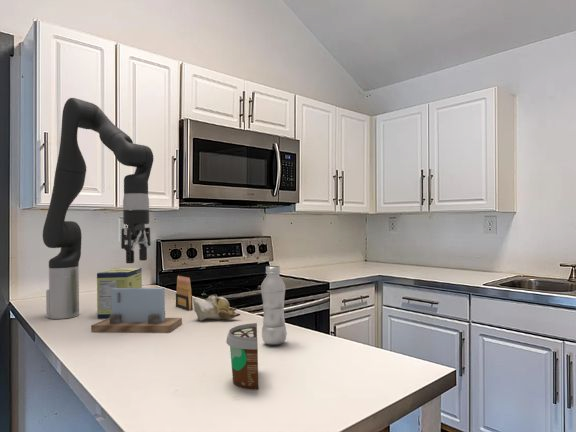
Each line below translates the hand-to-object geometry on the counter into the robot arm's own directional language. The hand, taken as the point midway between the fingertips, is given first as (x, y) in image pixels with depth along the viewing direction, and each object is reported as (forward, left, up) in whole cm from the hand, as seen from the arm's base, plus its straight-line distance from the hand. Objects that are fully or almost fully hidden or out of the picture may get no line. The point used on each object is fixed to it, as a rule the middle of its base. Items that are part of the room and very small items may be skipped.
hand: (136, 261), depth 127 cm
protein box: (-16, +20, -20) cm, 32 cm away
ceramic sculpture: (+21, +12, -21) cm, 32 cm away
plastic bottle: (+44, -15, -20) cm, 51 cm away
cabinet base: (0, 0, -20) cm, 20 cm away
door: (0, 0, -18) cm, 18 cm away
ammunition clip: (+4, +29, -20) cm, 35 cm away
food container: (+41, -40, -20) cm, 61 cm away
